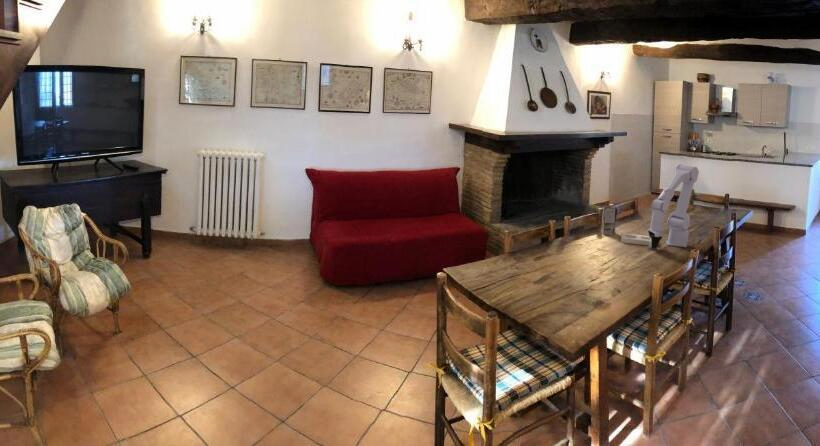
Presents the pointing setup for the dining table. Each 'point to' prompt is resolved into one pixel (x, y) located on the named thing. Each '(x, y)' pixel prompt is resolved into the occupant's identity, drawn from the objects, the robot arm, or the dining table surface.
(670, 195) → the robot arm
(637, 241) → the socket block
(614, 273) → the dining table surface
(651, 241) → the sleeve
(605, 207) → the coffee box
